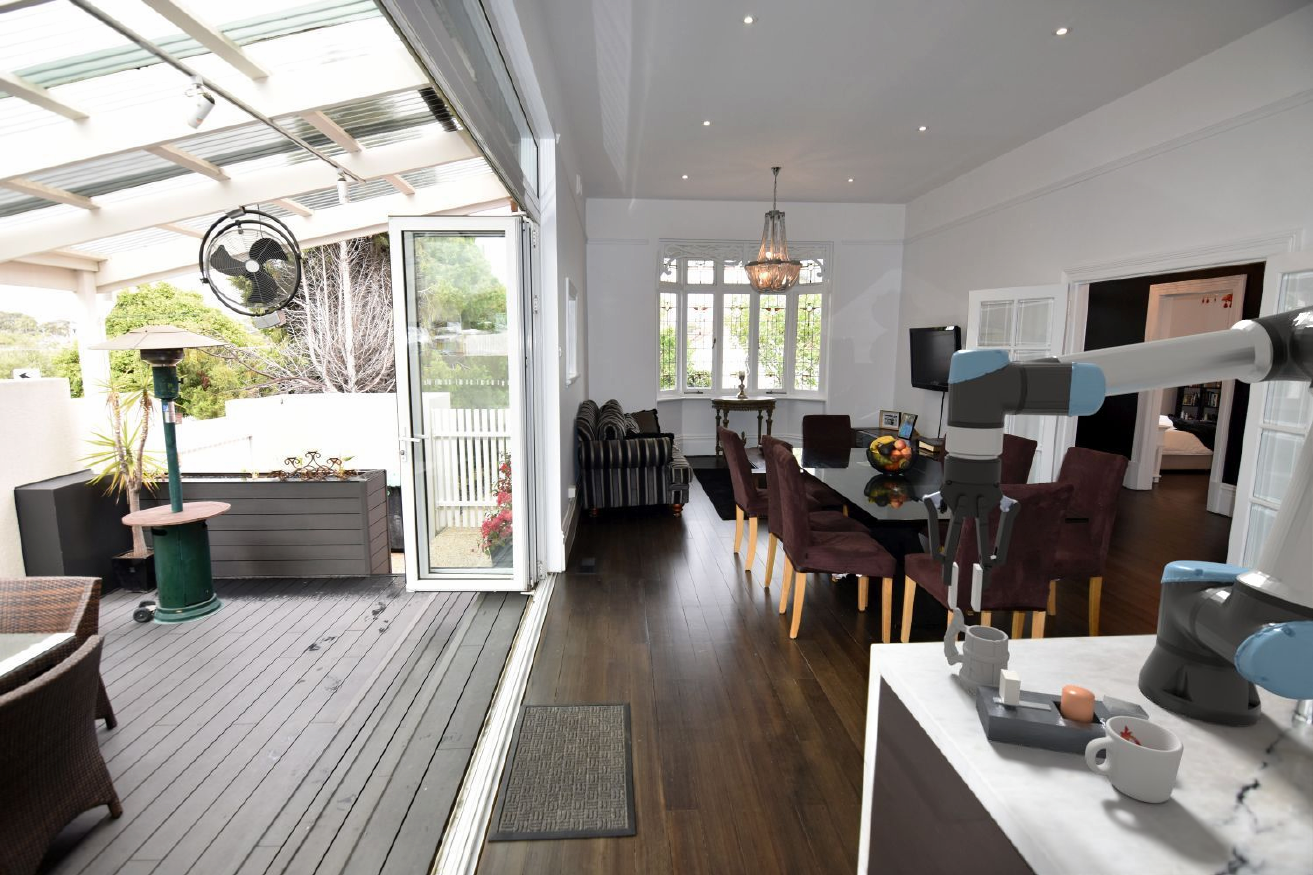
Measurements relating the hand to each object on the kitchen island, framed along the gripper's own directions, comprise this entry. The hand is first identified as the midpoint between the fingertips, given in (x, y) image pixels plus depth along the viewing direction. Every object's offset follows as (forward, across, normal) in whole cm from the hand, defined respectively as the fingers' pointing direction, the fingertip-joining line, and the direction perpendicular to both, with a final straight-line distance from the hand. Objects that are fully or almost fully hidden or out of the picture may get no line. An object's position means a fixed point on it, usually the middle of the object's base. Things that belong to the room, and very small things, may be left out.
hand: (963, 606), depth 94 cm
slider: (+14, -7, 0) cm, 16 cm away
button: (+16, -16, 0) cm, 23 cm away
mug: (+19, -4, -13) cm, 23 cm away
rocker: (+13, -22, 0) cm, 26 cm away
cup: (+19, -19, +11) cm, 29 cm away
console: (+19, -14, 0) cm, 23 cm away
